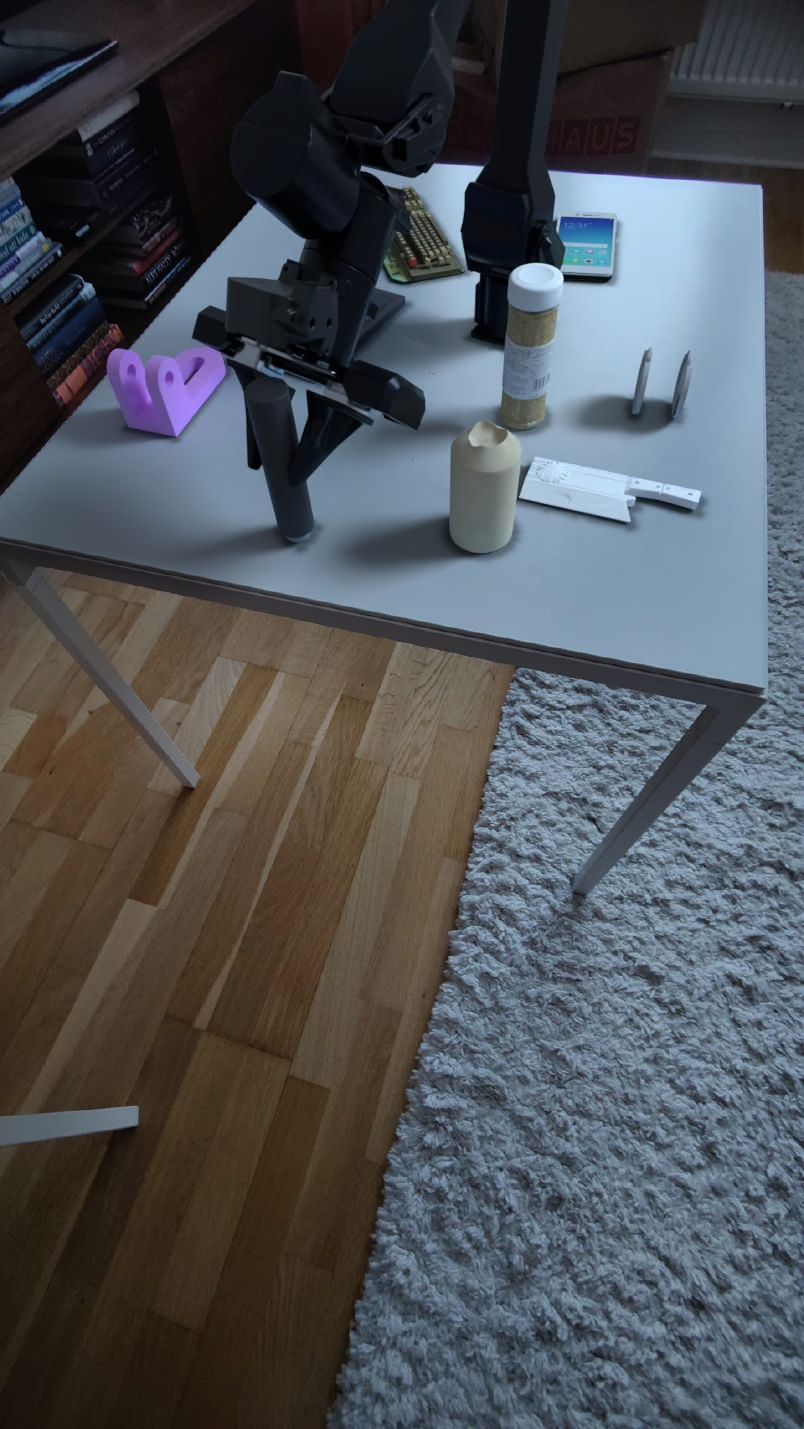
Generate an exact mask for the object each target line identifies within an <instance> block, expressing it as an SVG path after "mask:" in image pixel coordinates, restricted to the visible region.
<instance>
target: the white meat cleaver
mask: <svg viewBox="0 0 804 1429" xmlns="http://www.w3.org/2000/svg"><path fill="white" fill-rule="evenodd" d="M701 495H702V490H697V489H694V488H688V487H683V486H678V485H674V484H669V483H663V482H658V481H654V480H650V479H645V478H640V477H637V476H636V477H635V476H631V475H630V476H629V475H626V474H621V473H617V472H612V471H608V470H603V469H598V468H596V467H595V468H594V467H590V466H586V465H581V464H576V463H572V462H564V461H559V460H558V461H557V460H554V459H548V458H543V457H540V456H534V458H533V460H532V462H531V464H530V466H529V469H528V472H527V474H526V476H525V478H524V481H523V485H522V488H521V490H520V494H519V496H518V498H519V499H522V500H526V501H531V502H536V503H539V504H544V505H547V506H553V507H557V508H563V509H565V510H571V511H576V512H579V513H584V514H588V515H593V516H598V517H603V518H607V519H611V520H614V521H615V520H616V521H619V522H625V523H629V524H631V522H632V519H631V515H630V512H629V508H631V507H635V504H636V500H637V497H639V498H645V499H651V500H658V501H662V502H665V503H670V504H672V505H676V506H679V507H683V508H687V509H689V510H693V511H696V510H697V508H698V505H699V502H700V498H701Z"/></svg>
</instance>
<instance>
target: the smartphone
mask: <svg viewBox="0 0 804 1429" xmlns="http://www.w3.org/2000/svg"><path fill="white" fill-rule="evenodd" d="M617 220H618V215H617V213H615V212H602V211H601V212H600V211H576V210H575V211H574V210H561V211H559V212H558V216H557V222H556V225H555V229H556V231H557V233H558V235H559V236H560V238H561V240H562V242H563V244H564V246H565V248H566V250H565V254H564V258H563V265H562V266H561V270H560V271H561V273H562V275H563V280H579V281H595V282H596V281H598V282H609V281H611V280H612V278H613V273H614V264H615V248H616V237H617V223H618V221H617Z"/></svg>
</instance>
